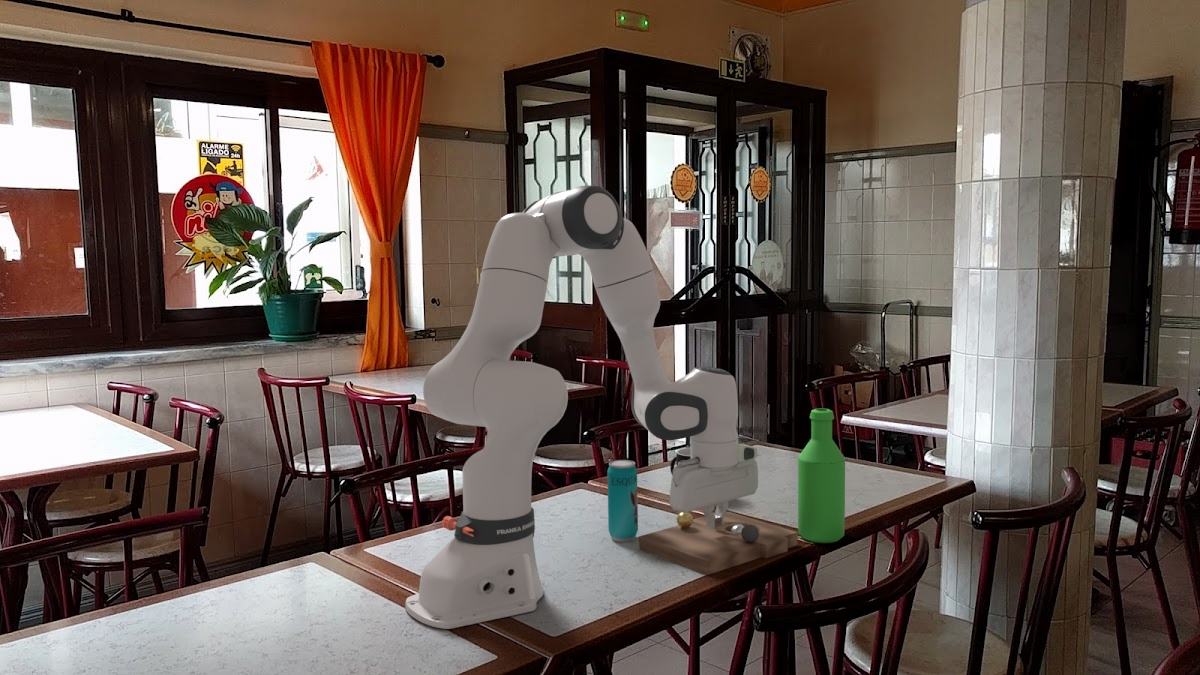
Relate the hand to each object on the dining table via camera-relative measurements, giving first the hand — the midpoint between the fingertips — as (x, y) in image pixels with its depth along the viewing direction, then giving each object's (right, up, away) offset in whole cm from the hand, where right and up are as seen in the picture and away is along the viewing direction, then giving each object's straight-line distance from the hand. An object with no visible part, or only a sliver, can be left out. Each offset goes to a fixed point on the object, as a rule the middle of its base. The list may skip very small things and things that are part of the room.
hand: (714, 525), depth 172 cm
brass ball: (-5, 0, +5) cm, 7 cm away
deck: (+1, -4, +1) cm, 4 cm away
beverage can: (-17, -4, +7) cm, 19 cm away
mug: (-1, -1, +38) cm, 38 cm away
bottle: (+21, -4, +6) cm, 22 cm away
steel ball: (+5, -2, +4) cm, 7 cm away
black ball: (+6, -1, -4) cm, 7 cm away
